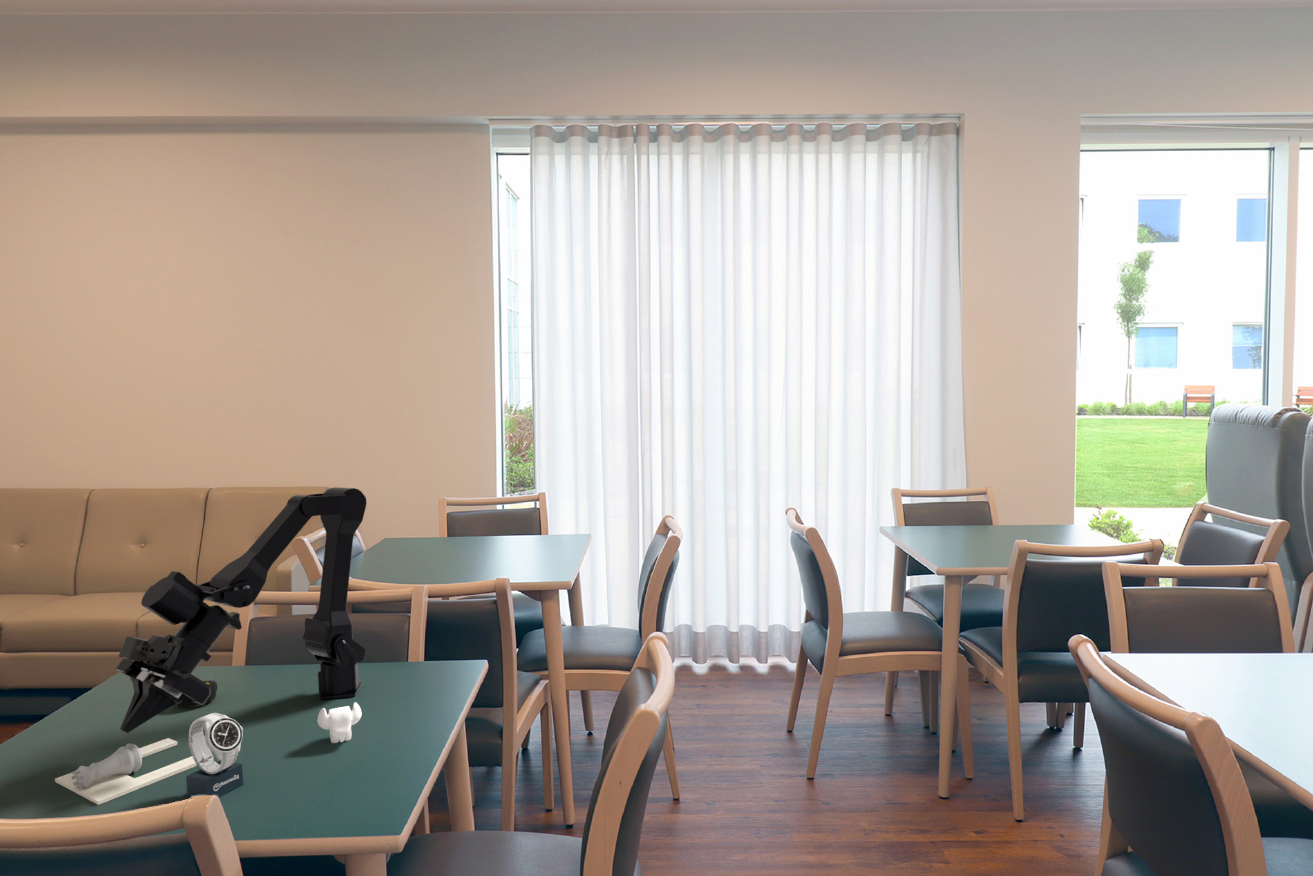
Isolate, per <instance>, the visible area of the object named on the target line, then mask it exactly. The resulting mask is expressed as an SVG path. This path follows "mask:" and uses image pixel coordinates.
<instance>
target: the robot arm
mask: <svg viewBox="0 0 1313 876" xmlns="http://www.w3.org/2000/svg"><path fill="white" fill-rule="evenodd" d="M366 508H367V497H366V495H365V494H364V492H362V491H361V490H360V489H358V488H355V487H353V488H352V487H336V486H335V487H330V488H327V490H326V491H324V492H321V493H312V494H306V495H305V494H303V495H302V494H296V495H293V496H291V497H290V498H289V499H288V501H287V502H286V504H285V506H284V507H283V509H282V510H281V511H280V512H279V513H278V514H277V516H276V517H275V518H274V519H273V520H272V521H271V523H270V524H269V525H268V526H267V527H266V528H265V530H264V531H263V532H262V533H261V534H260V536H258V538H256V540H255V541H254V543H253V544H252V545H251V546H249V549H247V551H246V552H244V553H243V555H241V556H239V557H238V558H236V559H234V560H233V561H230V562H229V563H227V564H226V565H225V566H224V567H223V568H222V569H220V570H219V571H218V572H217V573H216V574H214V575H213V576H212V578H210V580H207V581H205V582H202V583H199V584H194V583H193V582H192V581H190V579H188V578H187V576H185V575H184V574H183V573H182V572H180V571H176V570H172V571H170V573H169V574H168V575H167V576H165V577H162V578H161V579H159V580H158V581H157V582H155V583H154V584H152V585H150V586H149V588H147V590H146V591H145V593H144V595H143V596H142V598H141V604H140V605H141V606H142V607H144V608H145V609H147V610H148V611H150V612H151V613H153V614H154V615H156V616H157V617H159V618H161V619H162V620H163V621H165V622H166V623H168V624H169V625H171V626H176V625H179V624H182V626H181V627H180V628H179V629H178V630H177V632H175V634H174V635H172V634H168V635H165V636H158V635H152V636H151V637H150V638H149V639H148V638H142V637H136V636H129V635H126V636H125V639H124V642H123V644H122V646H121V649H120V651H119V653H118V657H119V658H123V659H122V660H121V661H120V662H119V664H118V665H117V666H116V667H115V669H116V671H119V672H120V673H122V674H123V675H125V676H126V677H128V678H130V682H131V683H132V687H133V695H132V697H131V702H130V704H129V706H128V708H127V711H126V713H125V716H124V718H123V721H122V723H121V726H120V728H119V729H120V731H122V732H124V733H125V734H126V733H127V734H128V733H131V732H132V731H133V730H134V731H135V730H136V728H139V727H140V726H142V725H144V723H147V722H148V721H149V720H151V719H152V718H154V717H157V715H159V714H161V713H163V712H165V711H166V710H168V709H169V708H171V707H174V705H177V703H181V702H182V701H181V700H180V699H178V698H179V697H180V695H181V694H182V693H183V694H184V695H186V696H188V697H189V698H191V699H192V701H193V702H195V703H198V704H201V706H204V705H205V704H206V703H205V702H206V701H207V699H208V698H209V697H210V695H211V686H210V685H208V684H206V683H205V682H203V681H204V680H202V679H200V678H198V677H197V676H195V675H193V673H194V671H195V670H196V668H197V667H198V666H199V665H200V664H201V662H202V661H204V662H208V661H209V660H210V659H211V657H212V655H210V653H209V651H210V650H211V648H212V647H213V646H214V645H215V643H216V642H217V641H218V639H219V638H220V637H221V636H222V634H223V632H224V631H225V630H226V629H227V628H229V629H233V630H236V631H239V630H241V629H242V623H241V622H242V621H241V620H240V616H241V614H240V613H239V612H235V611H230V612H229V611H227V610H226V609H224V608H223V607H222V606H227V607H232V608H237V609H238V608H239V609H240V608H246V607H247V608H248V607H249V606H250V605H252V604H253V603H254V602H255V601H256V599H257V598H258V597H259V594H260V593H261V591H262V589H263V588H264V586H265V585H266V583H267V578H268V572H269V571H270V570H271V567H272V566H273V565H274V564H275V562H276V561H277V560H278V559H279V557H280V556H281V555H282V553H284V551H285V550H286V549H287V548H288V546H289V545H290V544H291V543H292V541H293V540H294V539H295V538H296V537H297V535H298V534H299V533H300V531H302V529H303V528H304V527H305V526H306V524H307V523H308V522H309V521H310V520H311V518H313V517H316V516H320V521H321V523H322V526H323V528H324V531H325V543H324V544H325V545H324V553H323V562H322V563H323V564H322V572H321V574H322V575H321V583H320V591H319V593H320V594H319V600H318V608H317V611H316V612H315V614H314V615H313V616H312V618H311V617H306V618H305V620H304V634H303V636H302V638H301V639H302V640H303V641H304V645H305V649H306V650H308V652H309V653H310V654H312V657H313V658H314V661H316V662H321V663H320V669H319V671H318V672H317V681H318V686H317V687H318V693H319V694H320V695H319V697H318V698H319V700H328V699H338V698H348V697H350V698H351V697H355V696H356V695H357V694H358V692H359V691H360V688H361V687H362V682H361V681H360V672H359V671H360V670H359V663H360V662H362V661H364V658H365V654H366V648H364V647H363V646H362V645H360V644H359V643H358V642H357V641H355V640H354V638H353V624H352V621H351V619H350V616H349V613H348V612H347V611H348V610H347V605H348V603H347V602H348V592H349V584H350V583H349V582H350V574H351V573H350V572H351V563H352V555H353V554H352V552H353V545H354V544H353V542H354V535H355V533H356V532H357V530H358V529H359V527H360V525H361V524H362V522H363V520H364V516H365V512H366ZM204 601H209V602H213V603H216V604H214V605H211V606H210V605H208V604H207V603H206V602H204ZM220 605H222V606H220ZM204 703H205V704H204Z"/></svg>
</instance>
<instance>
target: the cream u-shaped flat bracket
mask: <svg viewBox="0 0 1313 876" xmlns="http://www.w3.org/2000/svg"><path fill="white" fill-rule="evenodd" d="M178 743H179V742H178V741H176V740H174V739H171V738H169V737H167V738H164V739H161V740H159V741H155V742H154V743H150V744H148V745H144V746H142V747H138V748H139V750H140V752H141V756H142V759H143V758H146V757H148V756H151V755H153V754H156V753H159V752H161V751H164V750H167V749H169V748H172V747H175V746H178ZM214 757H215V755H213V757H212V759H213V760H214V759H215V758H214ZM195 767H198V766H197V765H196V763H195V761H194V759H193V756H192V755H191V756H189V757H186V758H184V759H181V760H179V761H176V762H173V763H171V764H169V765H166V766H163V767H161V768H159V769H158V768H157V769H156V770H155V769H154V770H153V771H150V772H148V773H145V774H142V775H139V776H137V777H132V776H130V775H129V774H127V775H126V774H120V775H119V774H115V775H111V776H107V777H104V778H101V779H100V780H99V781H98V782H95V781H93V782H91V783H90V785H89V786H88V787H87V788H83V787H80V788H76V786H77V785H78V784H77V785H73V782H75V781H76V778H75V779H73V780H72V776H73V774H72V773H73V771H72V772H69V773H67V774H65V775H64V774H63V775H62V776H59V777H56V778H54V783H56V784H58V785H59V786H62V787H64V788H66V789H68V790H70V791H71V792H73V793H75V794H77V795H79V796H81V797H83V798H85V799H86V800H88V801H90V802H91V803H94V804H95V805H97V806H100V805H102V804H104V803H106V802H109V801H112V800H114V799H117V798H119V797H121V796H124V795H127V794H130V793H132V792H134V791H136V790H139V789H142V788H144V787H146V786H149V785H153V784H154V783H156V782H160V781H162V780H164V779H166V778H170V777H172V776H174V775H177V774H179V773H182V772H185V771H187V770H189V769H192V768H195ZM74 775H75V774H74Z"/></svg>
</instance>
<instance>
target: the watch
mask: <svg viewBox="0 0 1313 876" xmlns="http://www.w3.org/2000/svg"><path fill="white" fill-rule="evenodd" d="M243 733H244V728H243V726H241V725H240V723H239V722H238V721H237V720H235V719H234V718H230V717H229V716H227V714H222V713H220V712H219V713H218V712H211V713H209V714H207V715H204V716H201V717H199V718H196V719H195V720H193V722H192V723H191V724H190V726H189V730H188V747H189V751H190V753H191V756H193V759H194V761H195V763H196V765H197V766H196V767H199V769H198V770H196V771H194V772H192V773H189V774H187V775H186V776H185V777H186V792H187V793H186V794H187V798H188V797H191V795H197V794H207V795H212V794H217V795H219V798H220V797H222V796H224V795H226V794H228V793H230V792H232V791H234V790H237V789H238V788H240V787H242V786H244V773H243V764H242V763H239V762H236V761H237V757H238V755H239V752H240V751H241V745H242V744H241V743H242V741H243V738H244V737H243ZM213 754H214V755H213ZM213 756H214V757H216V759H217V760H218V761H215V760H214V759H212V757H213Z"/></svg>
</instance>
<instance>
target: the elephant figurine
mask: <svg viewBox="0 0 1313 876" xmlns="http://www.w3.org/2000/svg"><path fill="white" fill-rule="evenodd" d="M352 704H353V705H352V709H351V707H350V706H349V705H346V706H345V705H344V706H342V707H341V706H340V707H334V708H330V709H329V710H328V713H327V710H326V708H325V707H322V708H321V709H320V711H319V713H318V714H317V725H318V726H319V727H320V728H321V729H322V730H325V731H326V730H329V739H330V742H331V744H337V743H339V742H340V743H343V742H348V741H350V740H352V733H353V732H352V726H353V725H356V724H357V723H358V722H359V721H360V720H361V717H362V714H363V713H362V709H361V706H360V705H359V703H358V702H354V703H352Z"/></svg>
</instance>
